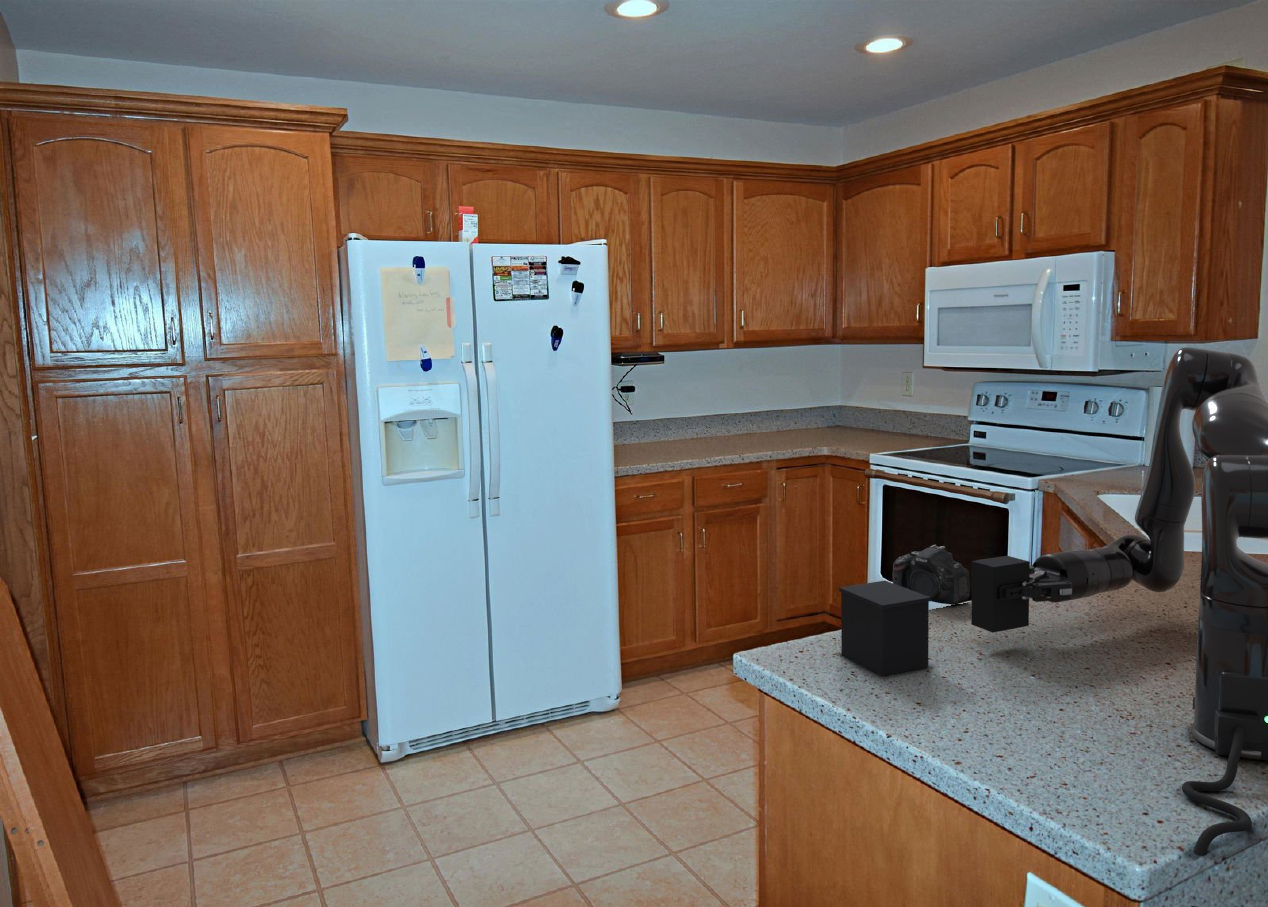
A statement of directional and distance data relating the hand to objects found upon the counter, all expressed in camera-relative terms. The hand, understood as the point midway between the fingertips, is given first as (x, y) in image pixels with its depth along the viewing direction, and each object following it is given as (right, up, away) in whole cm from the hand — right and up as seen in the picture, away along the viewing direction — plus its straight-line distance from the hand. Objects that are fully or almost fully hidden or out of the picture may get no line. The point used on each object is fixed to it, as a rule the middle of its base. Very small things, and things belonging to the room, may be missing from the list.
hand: (986, 589), depth 133 cm
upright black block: (+3, -6, +2) cm, 7 cm away
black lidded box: (-16, -10, -2) cm, 19 cm away
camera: (0, -6, +27) cm, 28 cm away
